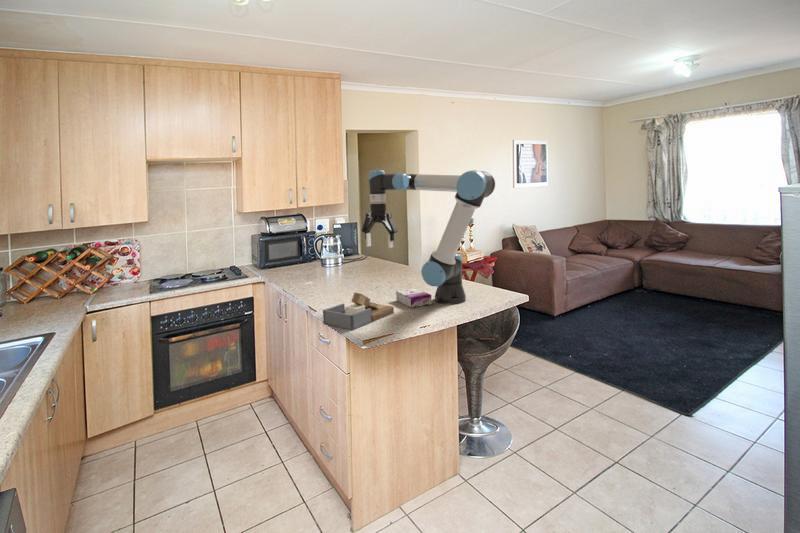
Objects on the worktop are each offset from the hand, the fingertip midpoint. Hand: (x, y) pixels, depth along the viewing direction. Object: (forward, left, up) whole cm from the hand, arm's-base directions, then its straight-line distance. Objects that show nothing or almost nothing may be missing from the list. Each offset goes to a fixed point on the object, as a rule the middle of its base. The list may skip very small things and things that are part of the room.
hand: (379, 247), depth 212 cm
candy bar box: (-24, +1, -24) cm, 34 cm away
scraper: (-11, +22, -23) cm, 34 cm away
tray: (-11, +38, -27) cm, 47 cm away
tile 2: (-11, +32, -24) cm, 42 cm away
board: (-11, +24, -27) cm, 37 cm away
